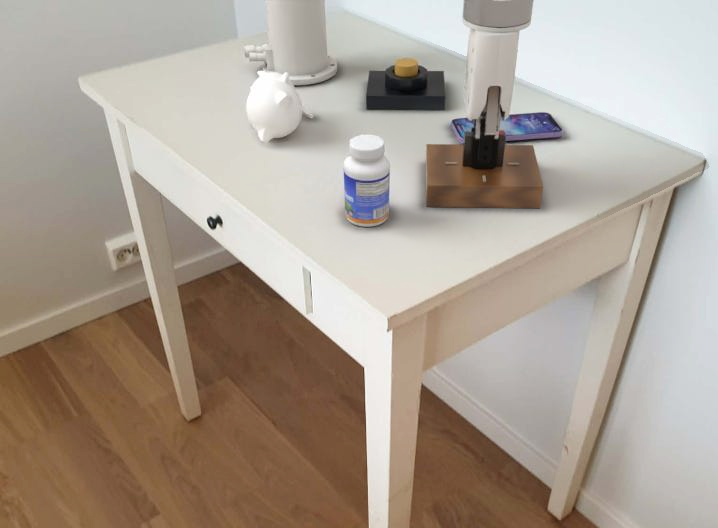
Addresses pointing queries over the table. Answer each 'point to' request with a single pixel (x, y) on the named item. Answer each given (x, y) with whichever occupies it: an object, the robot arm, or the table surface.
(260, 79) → the cat figurine
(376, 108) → the black stepped base
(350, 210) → the pill bottle
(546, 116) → the smartphone
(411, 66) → the bell button
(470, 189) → the plate
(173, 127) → the table surface
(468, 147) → the lock knob
